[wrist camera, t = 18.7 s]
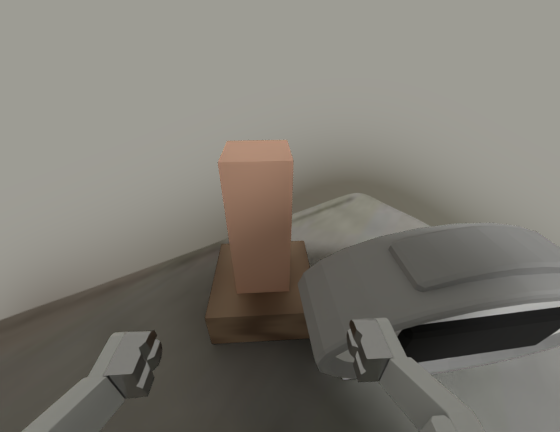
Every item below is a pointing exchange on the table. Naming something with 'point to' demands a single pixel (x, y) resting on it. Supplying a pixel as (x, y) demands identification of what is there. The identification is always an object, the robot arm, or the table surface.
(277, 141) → the terracotta block
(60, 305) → the table surface
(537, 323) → the alarm clock
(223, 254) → the block
